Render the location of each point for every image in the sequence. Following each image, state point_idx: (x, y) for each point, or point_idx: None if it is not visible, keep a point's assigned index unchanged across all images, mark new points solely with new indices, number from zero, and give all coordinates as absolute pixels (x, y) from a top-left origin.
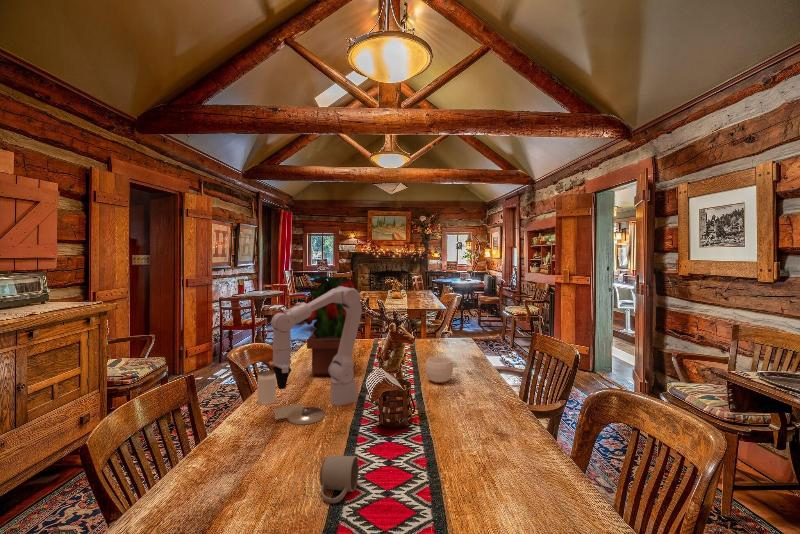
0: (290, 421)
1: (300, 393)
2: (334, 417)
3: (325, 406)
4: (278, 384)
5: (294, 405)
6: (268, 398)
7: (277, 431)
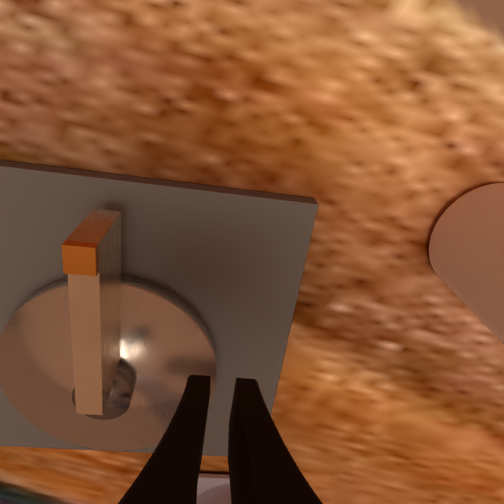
0: (64, 282)
1: (496, 417)
2: (106, 454)
3: None
4: (175, 414)
5: (79, 368)
6: (458, 260)
7: None
